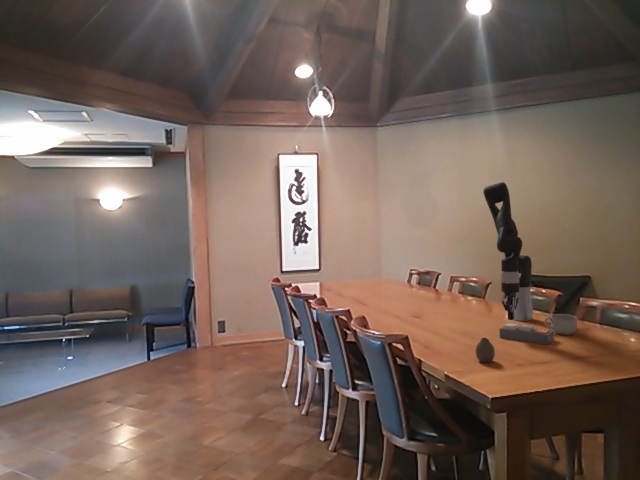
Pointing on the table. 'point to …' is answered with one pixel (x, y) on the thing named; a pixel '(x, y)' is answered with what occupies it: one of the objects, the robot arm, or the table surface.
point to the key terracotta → (541, 331)
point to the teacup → (562, 323)
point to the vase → (485, 351)
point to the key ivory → (511, 326)
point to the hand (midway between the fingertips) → (510, 319)
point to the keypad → (527, 336)
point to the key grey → (526, 328)
